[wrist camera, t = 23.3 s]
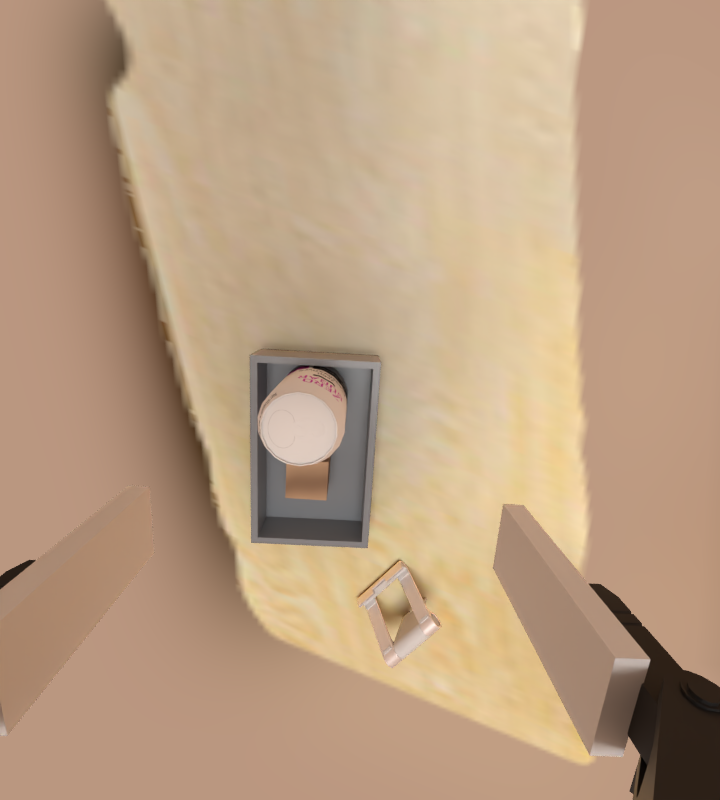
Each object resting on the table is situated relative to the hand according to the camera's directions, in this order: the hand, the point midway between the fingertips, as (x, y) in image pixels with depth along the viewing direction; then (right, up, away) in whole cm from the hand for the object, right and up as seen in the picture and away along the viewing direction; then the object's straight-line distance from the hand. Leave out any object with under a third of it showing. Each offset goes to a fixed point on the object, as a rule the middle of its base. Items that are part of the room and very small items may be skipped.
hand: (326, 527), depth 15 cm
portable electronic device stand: (+7, -24, +44) cm, 50 cm away
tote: (-4, -1, +38) cm, 38 cm away
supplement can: (-4, +6, +36) cm, 36 cm away
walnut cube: (-5, -4, +38) cm, 38 cm away
